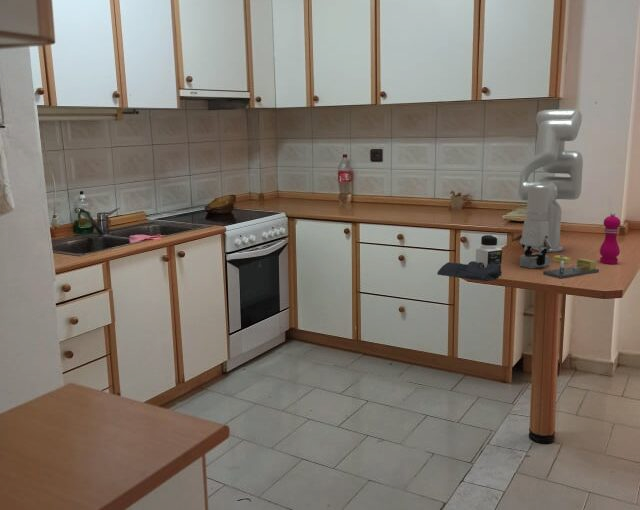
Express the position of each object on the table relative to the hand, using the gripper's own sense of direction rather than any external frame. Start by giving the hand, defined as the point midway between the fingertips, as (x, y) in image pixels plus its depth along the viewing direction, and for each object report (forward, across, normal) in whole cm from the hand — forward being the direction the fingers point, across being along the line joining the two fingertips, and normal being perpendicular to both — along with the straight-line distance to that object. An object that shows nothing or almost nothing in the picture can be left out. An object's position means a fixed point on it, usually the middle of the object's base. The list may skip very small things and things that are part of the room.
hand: (534, 262), depth 248 cm
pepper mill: (+2, +10, +30) cm, 31 cm away
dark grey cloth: (+2, -3, -30) cm, 30 cm away
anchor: (+1, 0, +15) cm, 15 cm away
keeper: (+1, +15, +3) cm, 15 cm away
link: (+1, 0, 0) cm, 1 cm away
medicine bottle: (+2, -9, -15) cm, 18 cm away
